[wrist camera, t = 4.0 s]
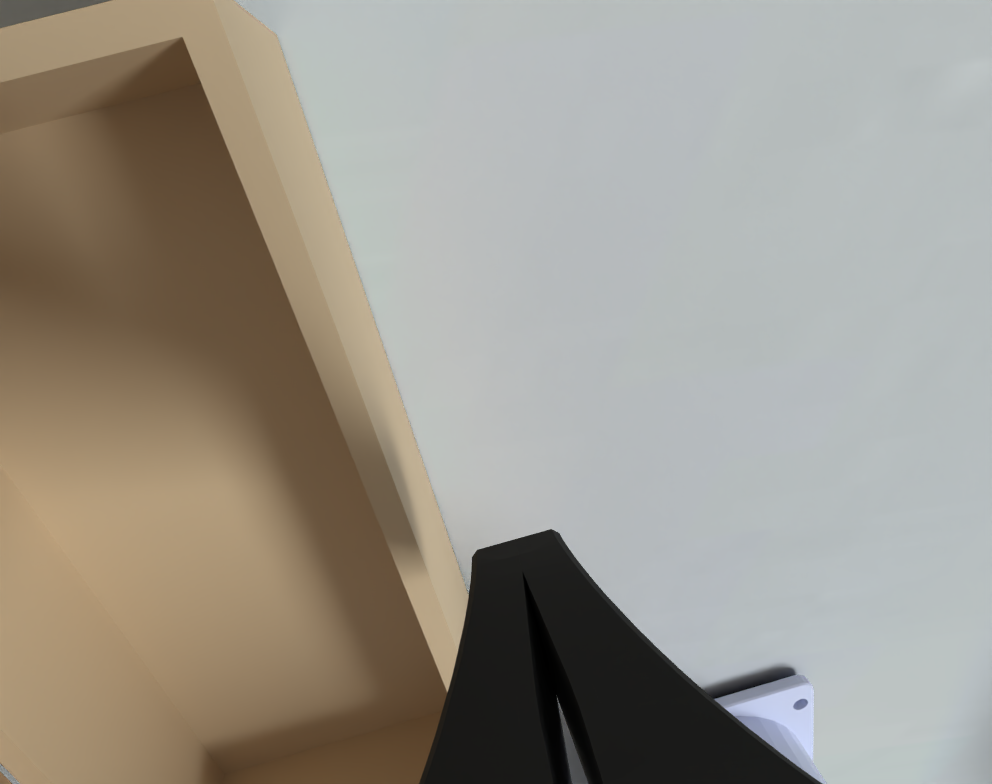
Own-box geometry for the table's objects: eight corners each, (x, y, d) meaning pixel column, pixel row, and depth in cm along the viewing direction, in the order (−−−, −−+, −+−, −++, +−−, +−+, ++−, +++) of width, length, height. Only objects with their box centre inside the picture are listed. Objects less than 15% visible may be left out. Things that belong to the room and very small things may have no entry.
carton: (501, 690, 18) (524, 830, 14) (220, 772, 18) (171, 936, 14) (276, 34, 10) (204, -24, 7) (-224, 161, 10) (-583, 173, 6)
